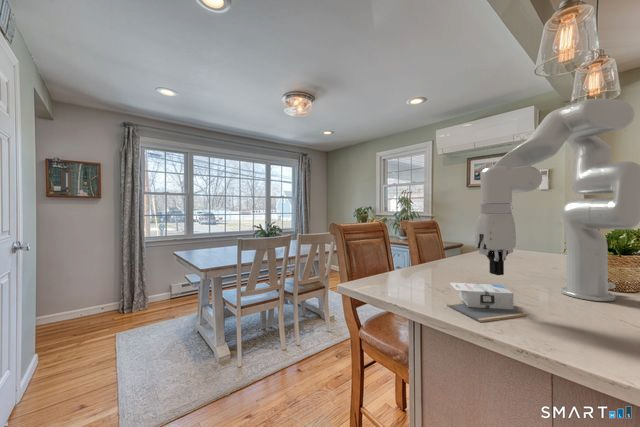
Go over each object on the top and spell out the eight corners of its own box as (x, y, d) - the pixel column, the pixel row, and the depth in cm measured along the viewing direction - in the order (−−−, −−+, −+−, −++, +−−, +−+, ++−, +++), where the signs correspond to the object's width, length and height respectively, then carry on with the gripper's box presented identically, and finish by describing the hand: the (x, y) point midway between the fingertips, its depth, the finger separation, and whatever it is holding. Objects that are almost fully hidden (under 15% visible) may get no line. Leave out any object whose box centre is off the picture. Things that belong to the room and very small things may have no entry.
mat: (488, 301, 83) (488, 299, 83) (526, 316, 72) (526, 314, 72) (447, 306, 80) (447, 304, 80) (479, 322, 68) (479, 320, 68)
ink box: (500, 300, 83) (449, 297, 86) (500, 284, 83) (449, 282, 86) (514, 310, 75) (456, 307, 78) (514, 293, 74) (456, 290, 78)
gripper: (505, 210, 82) (505, 269, 82) (463, 210, 78) (464, 273, 79) (529, 209, 75) (530, 275, 75) (485, 210, 71) (485, 279, 71)
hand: (496, 274), depth 77 cm, fingers closed
